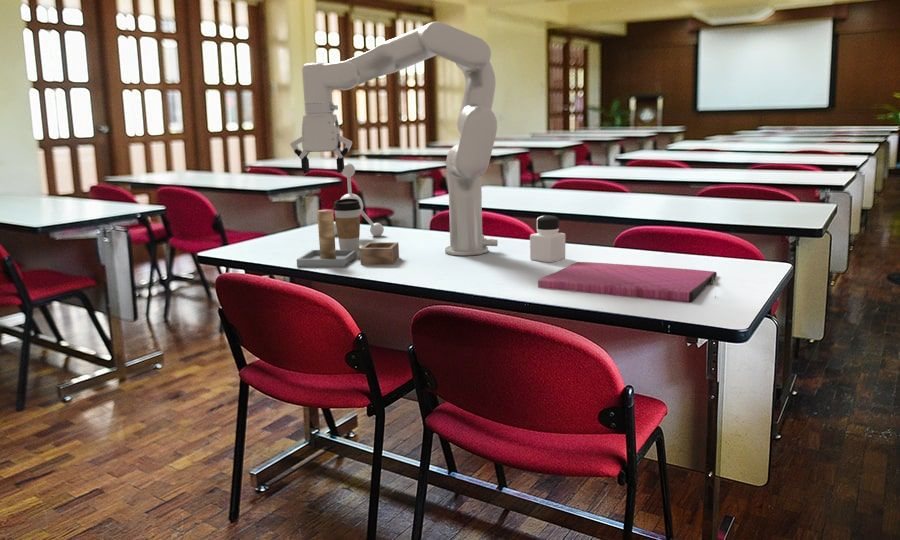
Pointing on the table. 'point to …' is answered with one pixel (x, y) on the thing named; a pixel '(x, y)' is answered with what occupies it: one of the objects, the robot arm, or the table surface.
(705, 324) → the table surface
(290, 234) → the table surface
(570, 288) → the maroon flat block
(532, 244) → the medicine bottle
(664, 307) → the table surface
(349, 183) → the molecular model
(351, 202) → the coffee cup
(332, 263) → the tray
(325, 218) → the dowel
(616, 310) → the table surface
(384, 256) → the shallow tan box
